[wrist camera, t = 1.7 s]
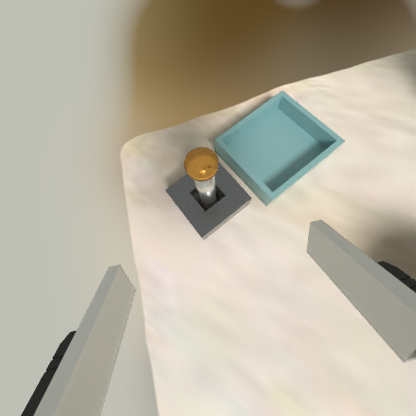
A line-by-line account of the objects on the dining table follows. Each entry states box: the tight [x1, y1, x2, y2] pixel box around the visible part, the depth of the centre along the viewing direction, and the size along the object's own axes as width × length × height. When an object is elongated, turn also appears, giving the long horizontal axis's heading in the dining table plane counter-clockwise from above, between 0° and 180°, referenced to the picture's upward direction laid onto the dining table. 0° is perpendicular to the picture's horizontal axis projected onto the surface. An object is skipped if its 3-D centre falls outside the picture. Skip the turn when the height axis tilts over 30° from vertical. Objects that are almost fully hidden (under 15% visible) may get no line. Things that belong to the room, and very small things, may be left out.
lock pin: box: [184, 147, 218, 208], centre depth 28 cm, size 4×4×15 cm
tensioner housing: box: [166, 162, 252, 240], centre depth 33 cm, size 11×11×4 cm
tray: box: [215, 91, 345, 206], centre depth 35 cm, size 18×16×4 cm
